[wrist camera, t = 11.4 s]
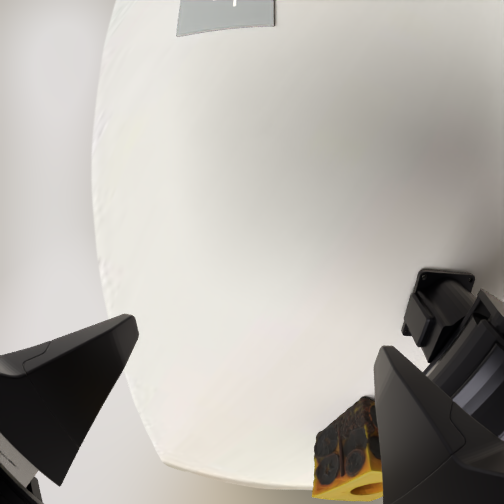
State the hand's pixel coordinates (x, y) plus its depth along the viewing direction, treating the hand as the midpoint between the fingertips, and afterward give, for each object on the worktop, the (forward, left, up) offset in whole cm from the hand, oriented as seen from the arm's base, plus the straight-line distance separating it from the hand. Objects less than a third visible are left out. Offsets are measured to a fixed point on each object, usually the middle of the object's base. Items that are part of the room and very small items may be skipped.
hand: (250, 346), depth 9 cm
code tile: (+5, -21, -13) cm, 25 cm away
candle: (-13, +24, -13) cm, 30 cm away
